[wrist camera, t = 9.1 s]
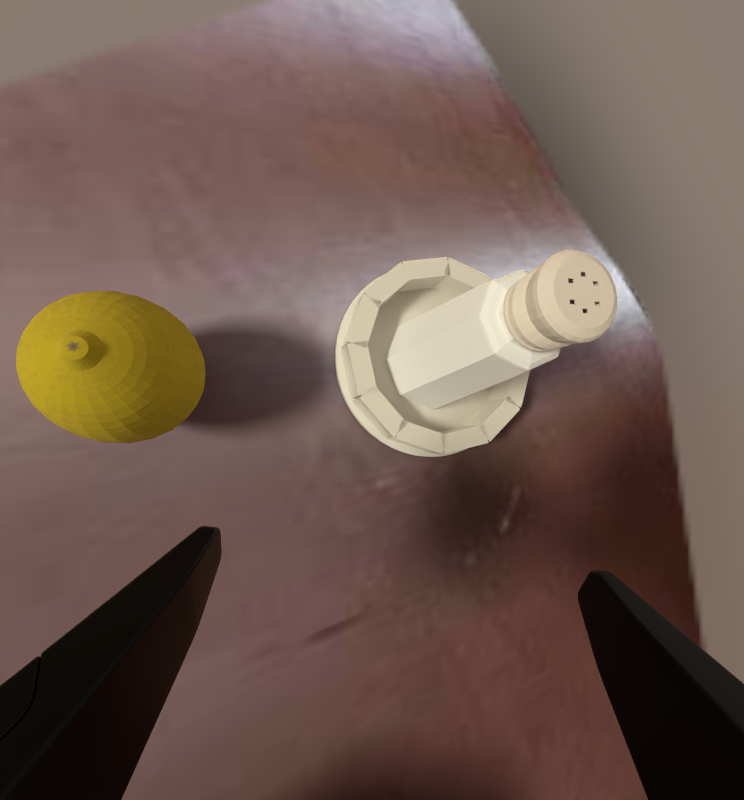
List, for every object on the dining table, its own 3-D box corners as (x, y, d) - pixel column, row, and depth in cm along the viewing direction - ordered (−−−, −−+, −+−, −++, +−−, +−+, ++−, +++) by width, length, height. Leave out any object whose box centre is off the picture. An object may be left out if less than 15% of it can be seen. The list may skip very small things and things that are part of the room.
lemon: (224, 337, 19) (192, 272, 12) (209, 445, 19) (166, 454, 11) (100, 319, 18) (-28, 232, 10) (80, 435, 17) (-73, 437, 10)
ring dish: (485, 479, 22) (509, 484, 20) (307, 421, 20) (312, 420, 18) (526, 311, 24) (553, 298, 22) (368, 240, 22) (379, 217, 19)
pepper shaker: (474, 410, 22) (664, 387, 11) (384, 409, 21) (506, 383, 10) (470, 319, 22) (650, 215, 12) (383, 312, 21) (497, 188, 10)
